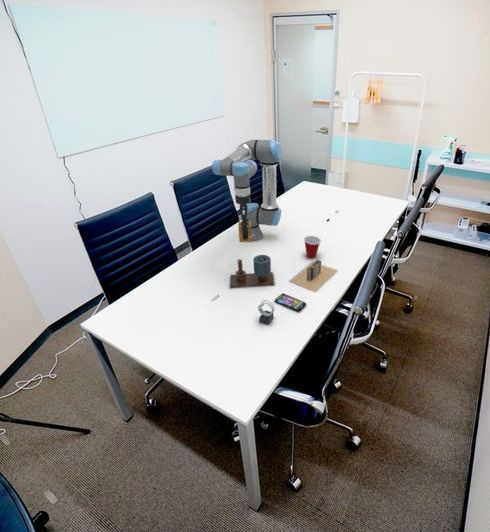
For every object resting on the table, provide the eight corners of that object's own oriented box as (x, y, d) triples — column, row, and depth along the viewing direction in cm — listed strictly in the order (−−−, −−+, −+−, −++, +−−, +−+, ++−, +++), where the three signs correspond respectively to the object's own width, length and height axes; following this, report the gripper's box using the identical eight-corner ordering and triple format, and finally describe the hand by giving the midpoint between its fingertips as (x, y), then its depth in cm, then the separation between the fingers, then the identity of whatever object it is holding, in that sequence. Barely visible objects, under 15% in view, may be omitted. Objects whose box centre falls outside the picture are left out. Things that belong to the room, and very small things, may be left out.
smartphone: (298, 311, 163) (273, 300, 171) (298, 312, 164) (273, 301, 171) (306, 302, 169) (282, 292, 176) (306, 304, 169) (282, 294, 177)
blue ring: (250, 270, 185) (250, 258, 181) (263, 265, 190) (263, 253, 186) (260, 277, 179) (260, 265, 175) (274, 271, 184) (273, 259, 180)
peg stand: (230, 288, 181) (228, 266, 174) (230, 276, 190) (228, 255, 183) (274, 285, 184) (273, 263, 176) (272, 274, 193) (272, 253, 186)
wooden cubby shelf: (239, 236, 182) (238, 221, 177) (251, 236, 182) (250, 221, 178) (239, 242, 176) (238, 226, 172) (251, 241, 177) (250, 226, 172)
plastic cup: (319, 261, 206) (320, 244, 199) (301, 259, 207) (302, 242, 201) (321, 252, 215) (322, 236, 208) (304, 251, 216) (305, 234, 210)
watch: (261, 313, 163) (261, 296, 157) (276, 318, 160) (276, 300, 154) (256, 320, 159) (255, 302, 153) (271, 325, 156) (270, 307, 150)
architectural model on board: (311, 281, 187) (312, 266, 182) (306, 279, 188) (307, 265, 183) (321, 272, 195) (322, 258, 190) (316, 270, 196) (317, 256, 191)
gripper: (235, 188, 174) (238, 228, 186) (234, 202, 157) (238, 245, 170) (249, 187, 174) (252, 227, 187) (250, 201, 158) (253, 244, 171)
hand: (245, 235), depth 178 cm, fingers closed on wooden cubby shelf, 6 cm apart
